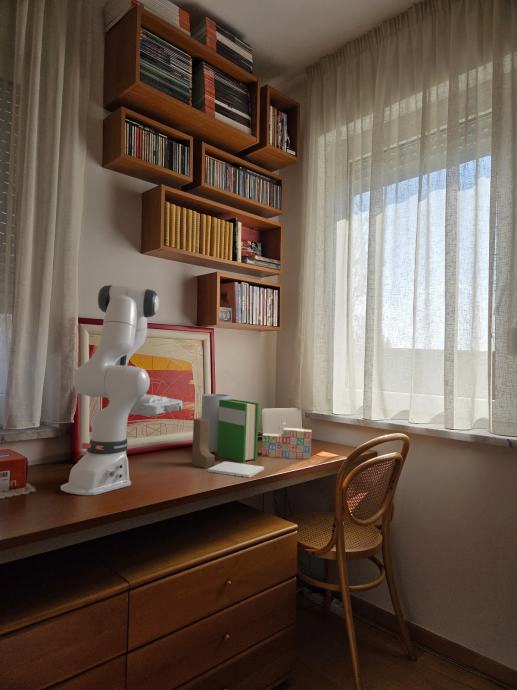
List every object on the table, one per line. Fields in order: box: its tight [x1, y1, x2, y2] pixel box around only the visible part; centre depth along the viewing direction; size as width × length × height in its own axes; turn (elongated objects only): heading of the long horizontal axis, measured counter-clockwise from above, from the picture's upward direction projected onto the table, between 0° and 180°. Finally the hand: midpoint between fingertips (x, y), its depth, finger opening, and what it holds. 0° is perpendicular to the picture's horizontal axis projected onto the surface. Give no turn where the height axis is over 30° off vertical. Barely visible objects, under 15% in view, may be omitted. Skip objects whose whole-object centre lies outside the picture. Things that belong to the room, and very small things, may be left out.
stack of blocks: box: [261, 427, 313, 460], centre depth 202 cm, size 21×6×12 cm, turn 80°
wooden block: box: [191, 417, 216, 469], centre depth 180 cm, size 9×4×18 cm, turn 45°
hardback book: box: [216, 398, 260, 464], centre depth 197 cm, size 18×7×24 cm, turn 42°
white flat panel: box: [207, 460, 265, 478], centre depth 174 cm, size 14×17×1 cm
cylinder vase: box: [200, 393, 230, 453], centre depth 211 cm, size 12×12×25 cm
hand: (179, 408), depth 185 cm, fingers closed
